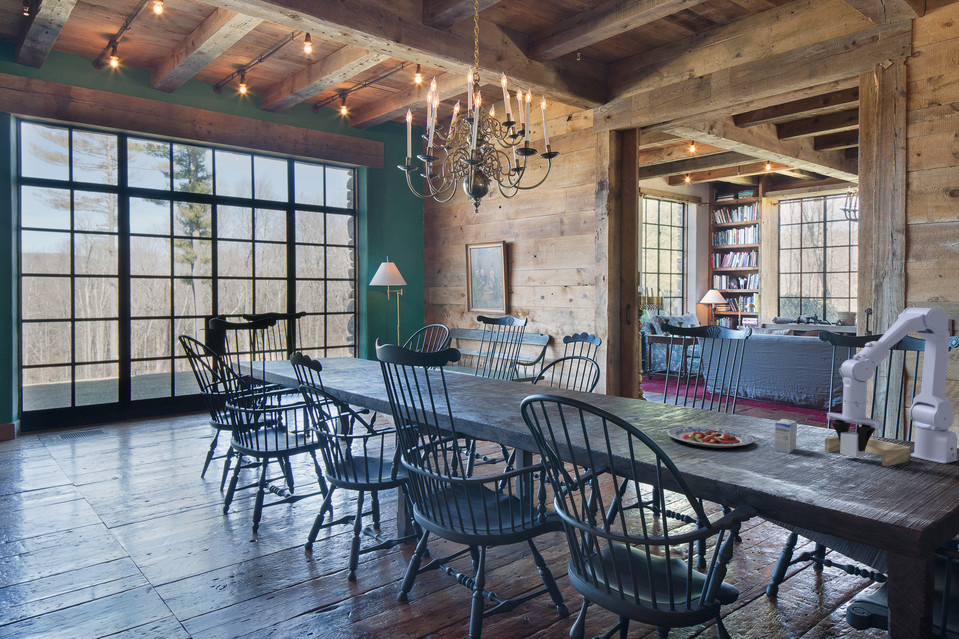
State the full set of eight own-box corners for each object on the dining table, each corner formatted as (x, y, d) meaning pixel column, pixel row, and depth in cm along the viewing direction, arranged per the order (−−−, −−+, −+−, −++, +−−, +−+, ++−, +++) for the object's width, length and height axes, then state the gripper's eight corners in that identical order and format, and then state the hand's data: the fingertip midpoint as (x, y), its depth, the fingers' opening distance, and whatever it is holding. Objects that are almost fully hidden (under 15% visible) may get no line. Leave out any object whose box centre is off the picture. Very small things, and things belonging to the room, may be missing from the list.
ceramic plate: (718, 431, 210) (718, 422, 210) (772, 449, 185) (772, 440, 185) (651, 434, 203) (652, 425, 203) (698, 454, 178) (698, 444, 178)
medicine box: (780, 446, 189) (781, 418, 188) (796, 448, 186) (797, 420, 186) (773, 451, 183) (774, 422, 182) (790, 453, 180) (791, 424, 179)
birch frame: (910, 460, 173) (910, 447, 173) (886, 466, 167) (887, 451, 167) (848, 447, 189) (848, 434, 188) (824, 451, 183) (825, 438, 182)
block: (865, 455, 174) (865, 434, 173) (855, 457, 171) (856, 436, 171) (849, 451, 178) (849, 431, 177) (839, 453, 175) (840, 432, 175)
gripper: (821, 398, 178) (819, 444, 179) (873, 407, 166) (871, 456, 166) (835, 397, 182) (833, 442, 182) (887, 405, 169) (885, 453, 170)
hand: (852, 448), depth 174 cm, fingers closed on block, 4 cm apart
